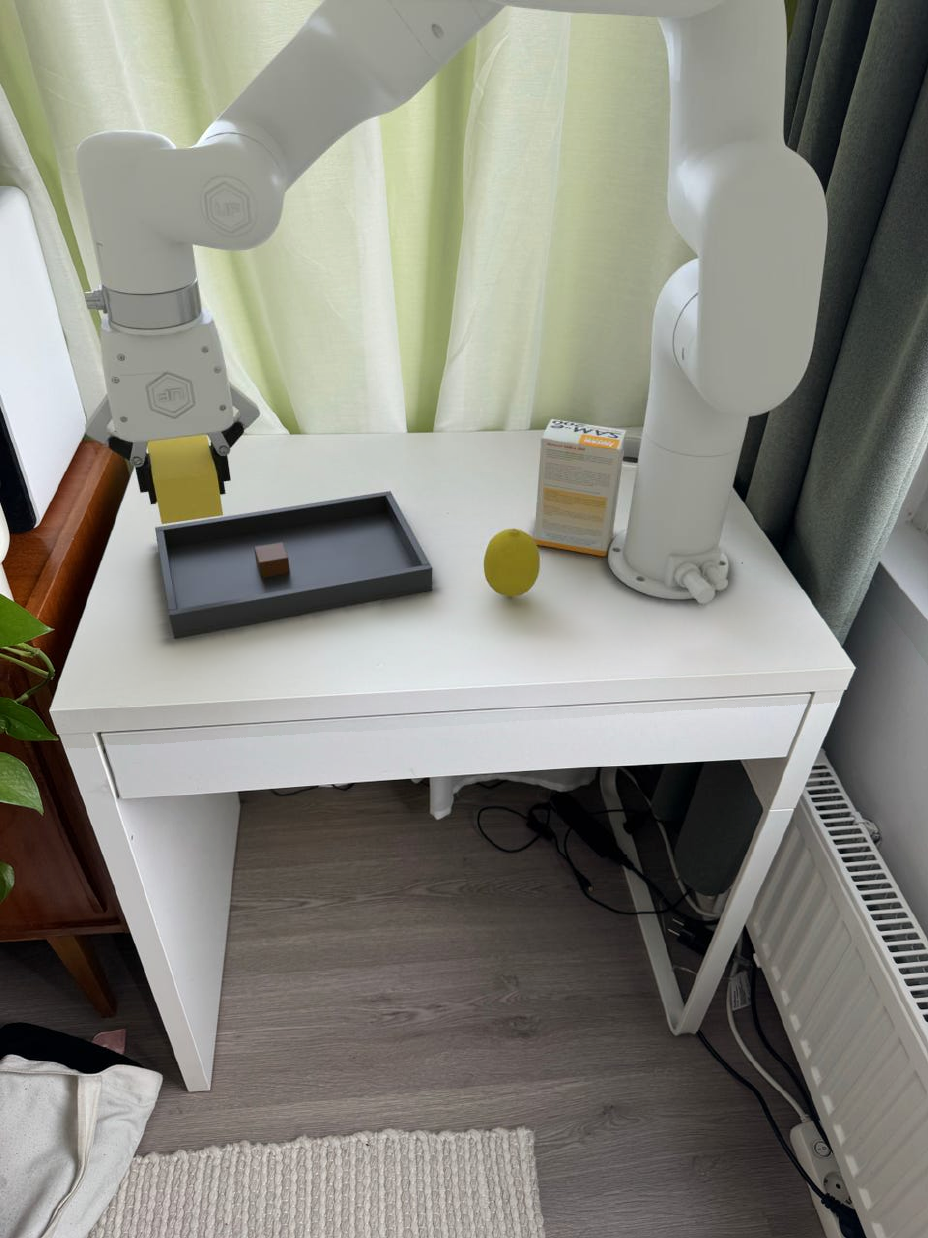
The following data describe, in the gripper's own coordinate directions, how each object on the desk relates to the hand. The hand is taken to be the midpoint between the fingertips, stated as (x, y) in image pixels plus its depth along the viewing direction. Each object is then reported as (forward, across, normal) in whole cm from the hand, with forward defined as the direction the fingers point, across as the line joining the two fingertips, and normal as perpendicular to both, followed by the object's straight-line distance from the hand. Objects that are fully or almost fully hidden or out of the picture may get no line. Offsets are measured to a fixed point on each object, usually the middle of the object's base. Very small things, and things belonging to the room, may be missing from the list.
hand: (186, 490), depth 87 cm
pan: (+11, +9, 0) cm, 14 cm away
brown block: (+10, +7, 0) cm, 13 cm away
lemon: (+11, +29, -11) cm, 33 cm away
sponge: (+1, 0, 0) cm, 1 cm away
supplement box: (+11, +40, -4) cm, 41 cm away
